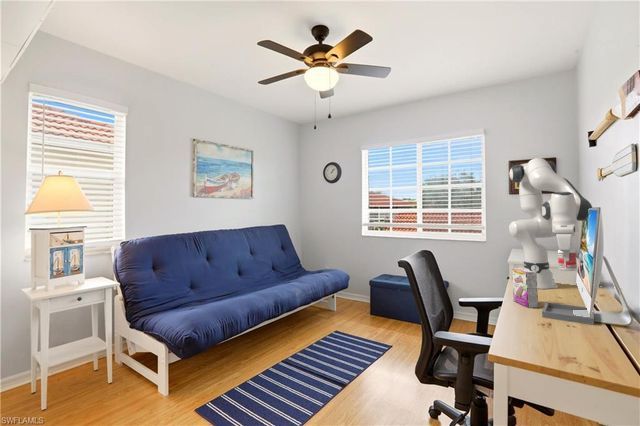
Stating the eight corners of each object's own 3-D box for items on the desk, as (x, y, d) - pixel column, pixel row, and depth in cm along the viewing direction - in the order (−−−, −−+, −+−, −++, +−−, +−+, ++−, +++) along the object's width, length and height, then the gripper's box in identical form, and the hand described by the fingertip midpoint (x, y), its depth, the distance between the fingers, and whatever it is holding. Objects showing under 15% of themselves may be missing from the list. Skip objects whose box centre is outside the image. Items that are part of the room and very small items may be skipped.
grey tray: (546, 307, 138) (546, 302, 138) (593, 313, 127) (593, 307, 127) (542, 317, 126) (542, 311, 126) (594, 325, 116) (593, 318, 116)
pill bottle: (579, 269, 132) (577, 244, 132) (574, 271, 128) (572, 245, 129) (561, 268, 137) (560, 243, 137) (556, 270, 133) (554, 244, 134)
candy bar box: (512, 301, 149) (511, 268, 149) (523, 301, 149) (521, 267, 149) (528, 308, 138) (526, 272, 138) (539, 307, 138) (537, 271, 138)
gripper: (557, 227, 143) (559, 257, 142) (553, 229, 128) (556, 262, 127) (574, 227, 139) (577, 257, 138) (573, 229, 123) (575, 263, 123)
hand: (567, 259), depth 133 cm, fingers closed on pill bottle, 6 cm apart
